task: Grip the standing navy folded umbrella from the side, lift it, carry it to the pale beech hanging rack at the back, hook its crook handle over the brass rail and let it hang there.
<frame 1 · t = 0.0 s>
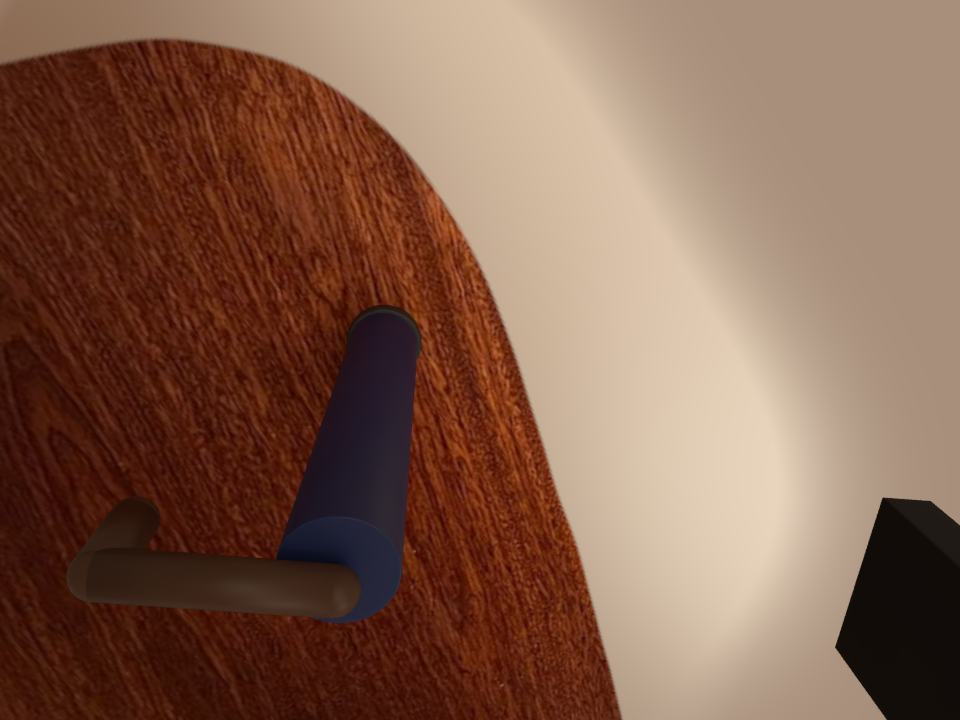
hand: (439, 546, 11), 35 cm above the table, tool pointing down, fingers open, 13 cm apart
umbrella: (385, 339, 47), on the table
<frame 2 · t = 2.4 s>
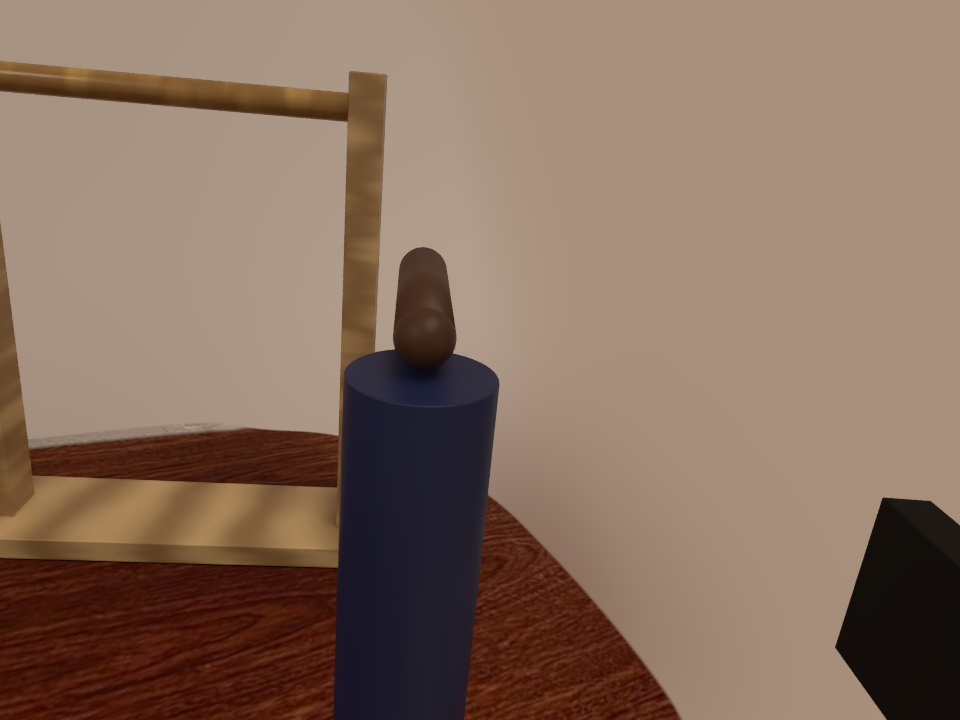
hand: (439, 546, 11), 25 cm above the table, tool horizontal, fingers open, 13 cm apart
rack: (185, 529, 54), on the table
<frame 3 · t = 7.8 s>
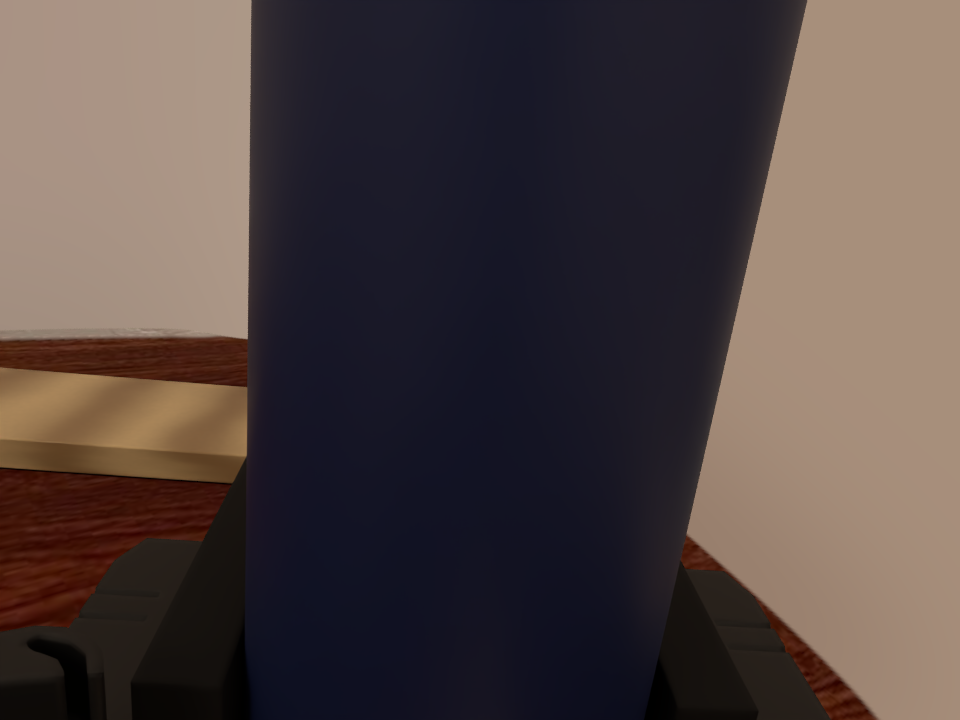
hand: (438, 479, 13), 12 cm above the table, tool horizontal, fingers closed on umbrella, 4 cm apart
rack: (115, 435, 38), on the table
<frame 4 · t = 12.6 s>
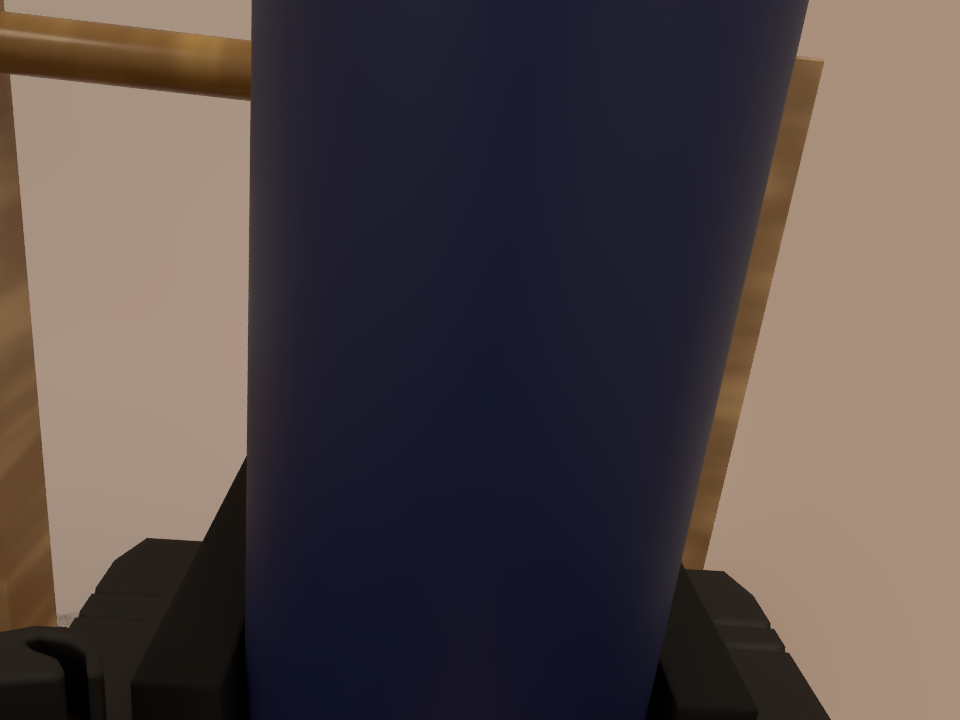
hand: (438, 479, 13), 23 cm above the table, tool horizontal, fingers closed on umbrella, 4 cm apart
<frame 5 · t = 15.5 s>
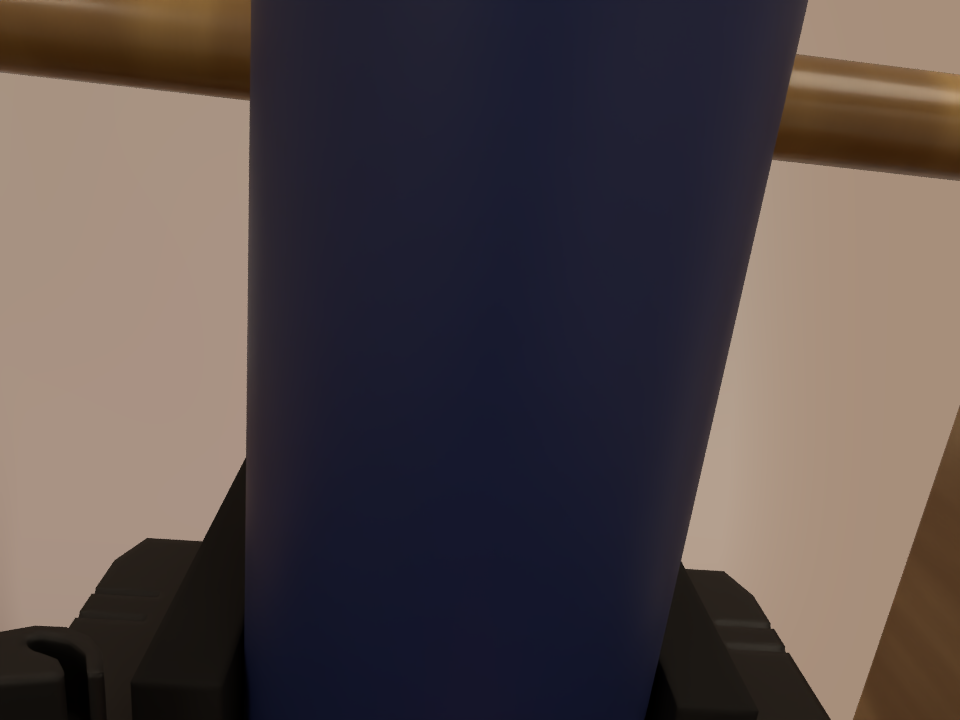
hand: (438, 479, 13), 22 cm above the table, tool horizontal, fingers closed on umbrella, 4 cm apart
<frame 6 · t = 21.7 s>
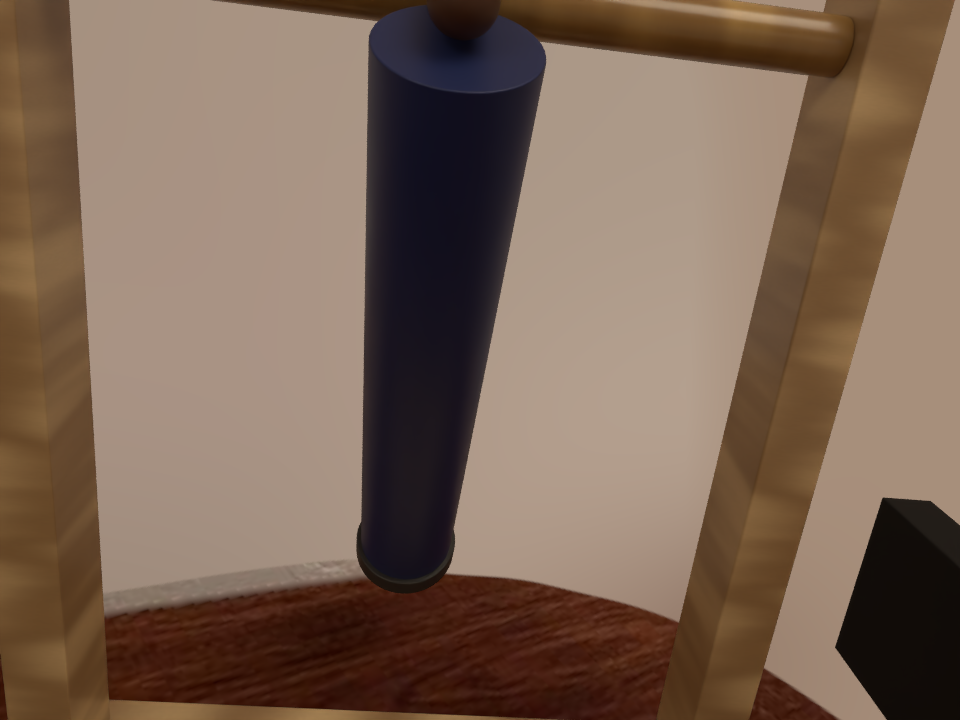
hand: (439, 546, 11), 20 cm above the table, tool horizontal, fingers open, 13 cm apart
umbrella: (405, 548, 35), point 7 cm above the table, tilted 30°, touching rack
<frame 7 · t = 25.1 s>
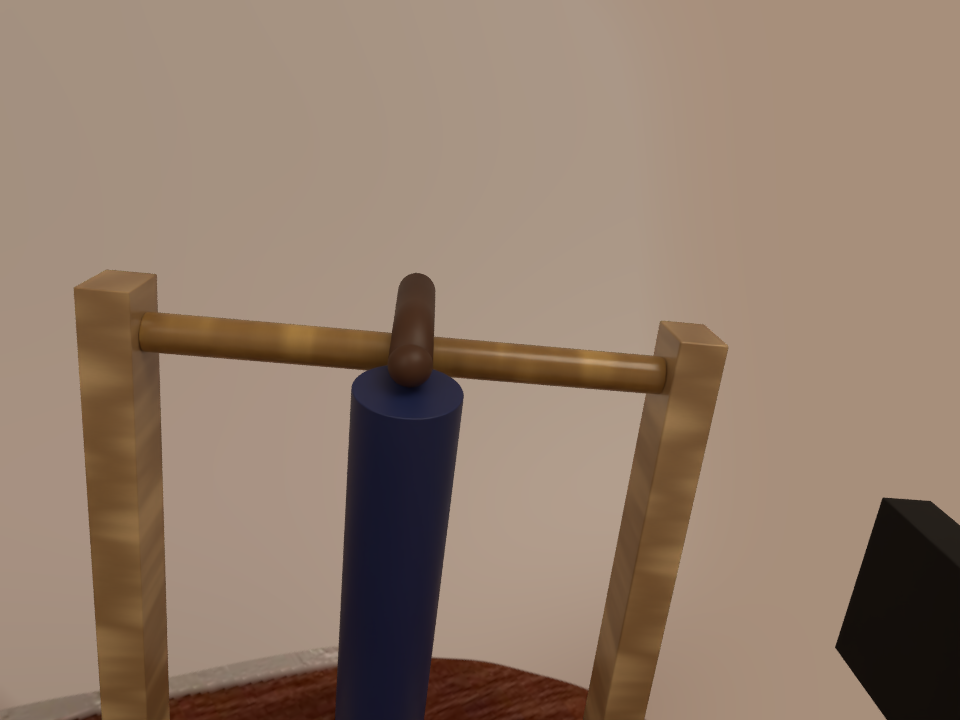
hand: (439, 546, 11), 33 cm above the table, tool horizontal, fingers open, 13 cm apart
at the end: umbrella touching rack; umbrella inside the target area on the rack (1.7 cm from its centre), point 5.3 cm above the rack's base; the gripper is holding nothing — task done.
